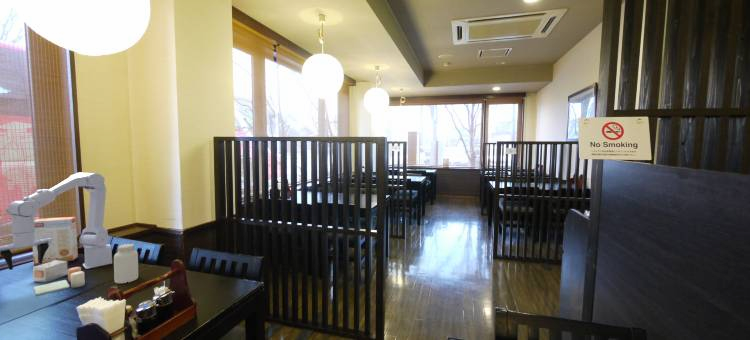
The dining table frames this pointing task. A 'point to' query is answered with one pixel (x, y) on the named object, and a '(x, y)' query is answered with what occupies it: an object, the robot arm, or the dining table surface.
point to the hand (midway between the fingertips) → (25, 265)
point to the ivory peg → (77, 279)
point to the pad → (51, 287)
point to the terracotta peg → (73, 270)
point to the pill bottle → (125, 264)
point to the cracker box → (57, 239)
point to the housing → (50, 271)
